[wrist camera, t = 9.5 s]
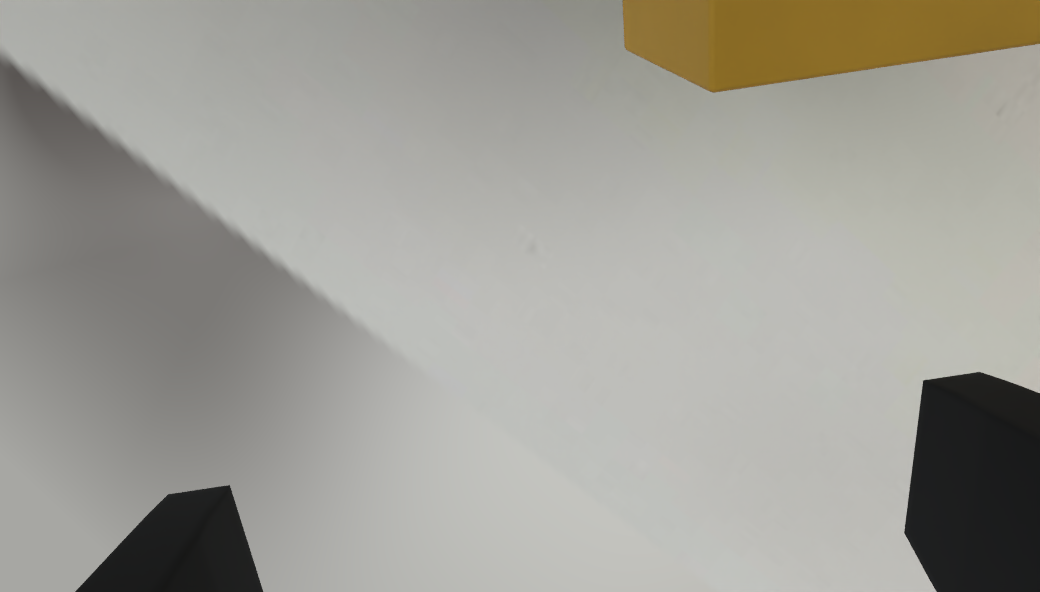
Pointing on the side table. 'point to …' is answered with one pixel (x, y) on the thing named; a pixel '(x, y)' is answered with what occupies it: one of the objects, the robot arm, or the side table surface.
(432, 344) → the side table surface
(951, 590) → the robot arm
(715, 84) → the block
